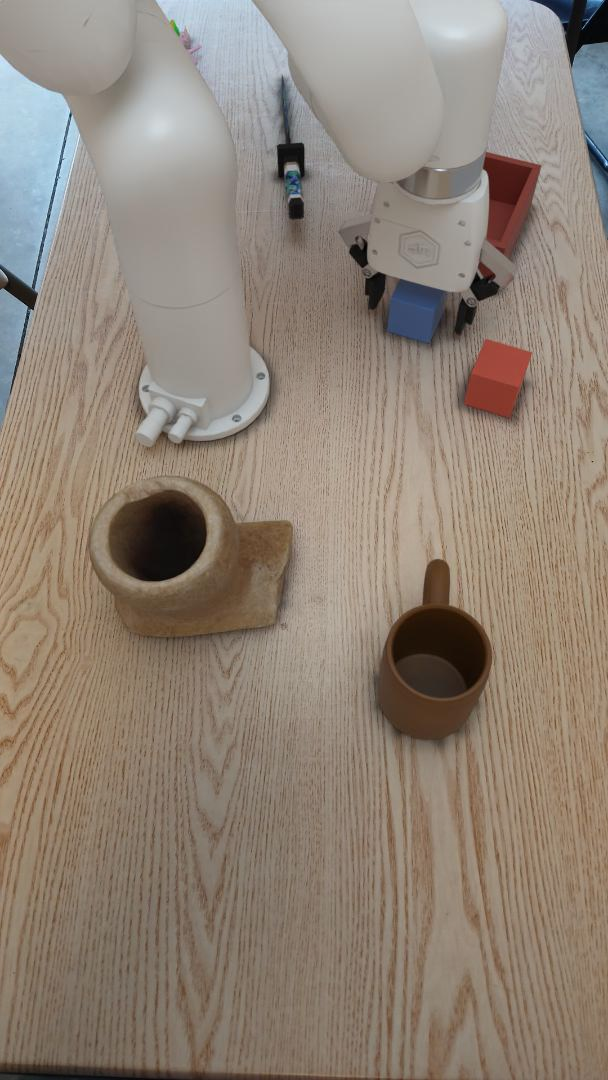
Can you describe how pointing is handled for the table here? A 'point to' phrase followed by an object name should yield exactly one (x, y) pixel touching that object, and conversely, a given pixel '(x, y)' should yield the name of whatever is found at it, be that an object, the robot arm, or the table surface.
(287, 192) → the knife
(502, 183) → the red bin
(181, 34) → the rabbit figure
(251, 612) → the stone cup
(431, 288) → the blue block
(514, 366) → the red block
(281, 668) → the table surface
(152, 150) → the robot arm
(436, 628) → the mug
